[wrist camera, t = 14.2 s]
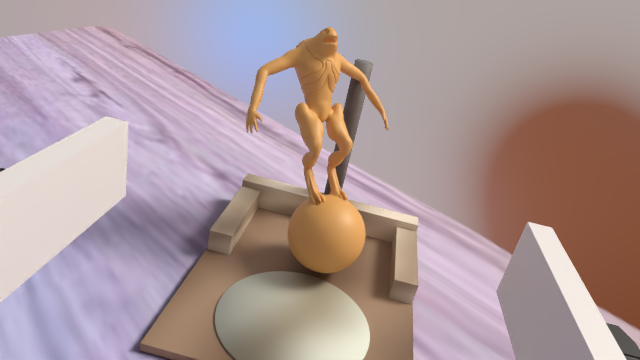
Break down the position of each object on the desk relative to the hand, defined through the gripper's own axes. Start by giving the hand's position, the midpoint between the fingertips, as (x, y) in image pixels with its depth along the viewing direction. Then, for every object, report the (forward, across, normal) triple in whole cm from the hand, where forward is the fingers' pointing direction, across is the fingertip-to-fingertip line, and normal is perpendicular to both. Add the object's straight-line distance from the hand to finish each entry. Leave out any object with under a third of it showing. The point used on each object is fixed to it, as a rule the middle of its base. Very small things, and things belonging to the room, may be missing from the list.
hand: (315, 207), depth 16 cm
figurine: (+8, 0, -8) cm, 11 cm away
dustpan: (+7, 0, -8) cm, 11 cm away
